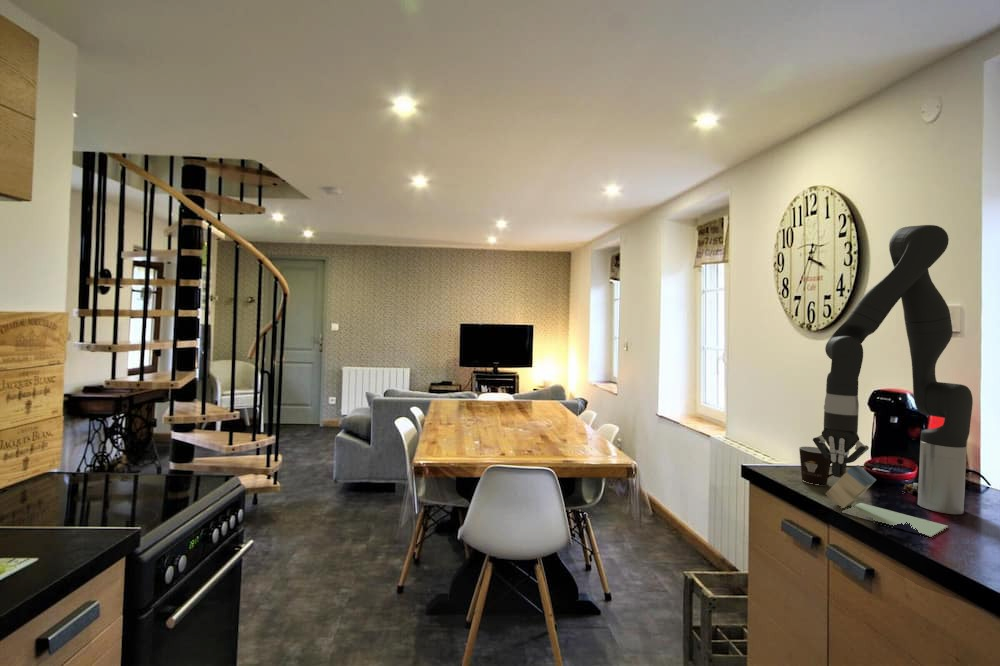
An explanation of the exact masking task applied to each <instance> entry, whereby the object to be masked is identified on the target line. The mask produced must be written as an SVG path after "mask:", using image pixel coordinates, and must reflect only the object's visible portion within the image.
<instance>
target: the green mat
mask: <svg viewBox="0 0 1000 666" xmlns="http://www.w3.org/2000/svg"><path fill="white" fill-rule="evenodd" d="M852 506H853V507H854V506H855V507H856V508H857V507H858V508H857V509H859V512H860V514H861V515H862V514H863V515H864V514H865V515H866V516H868V517H871V518H873V520H875V521H878V522H882V523H886V524H889V525H893V526H894V525H897V524H901V523H902V524H903V525H904V524H905V523H906V522H907V523H908V524H909V523H910V526H911V525H912V526H911V528H912V527H913V529H915V528H916V529H917V530H918V532H919V533H922V534H925V535H927V536H929V537H932V536H934V535H936V534H937V535H939V534H940V533H942V532H944V531H945V530H947V529H948V527H949V525H947V524H944V523H943V524H942V523H939V522H935V521H932V520H931V521H930V520H928V519H925V518H921V517H915V516H911V515H908V514H906V513H905V514H904V513H901V512H897V511H894V510H890V509H886V508H882V507H878V506H875V505H871V504H867V503H863V502H860V503H857V504H855V505H854V504H853V505H851V506H850V507H852ZM855 507H854V508H855ZM907 523H906V524H907ZM946 528H947V529H946ZM916 529H915V530H916ZM944 529H945V530H944ZM941 531H942V532H941ZM939 532H940V533H939ZM938 533H939V534H938ZM937 535H936V536H937ZM934 537H935V536H934ZM932 538H933V537H932Z"/></svg>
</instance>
